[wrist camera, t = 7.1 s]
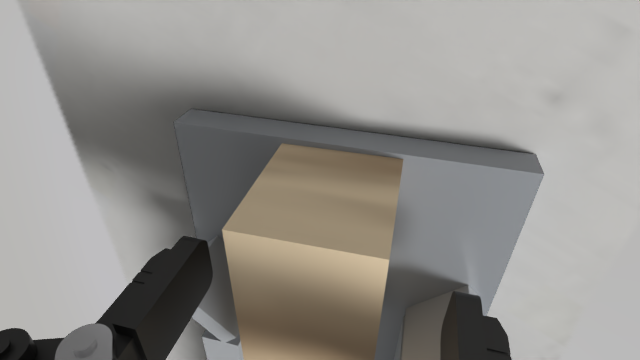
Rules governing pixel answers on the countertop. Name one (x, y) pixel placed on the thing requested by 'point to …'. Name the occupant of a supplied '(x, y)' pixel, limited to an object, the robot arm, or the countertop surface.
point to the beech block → (313, 254)
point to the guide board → (409, 229)
